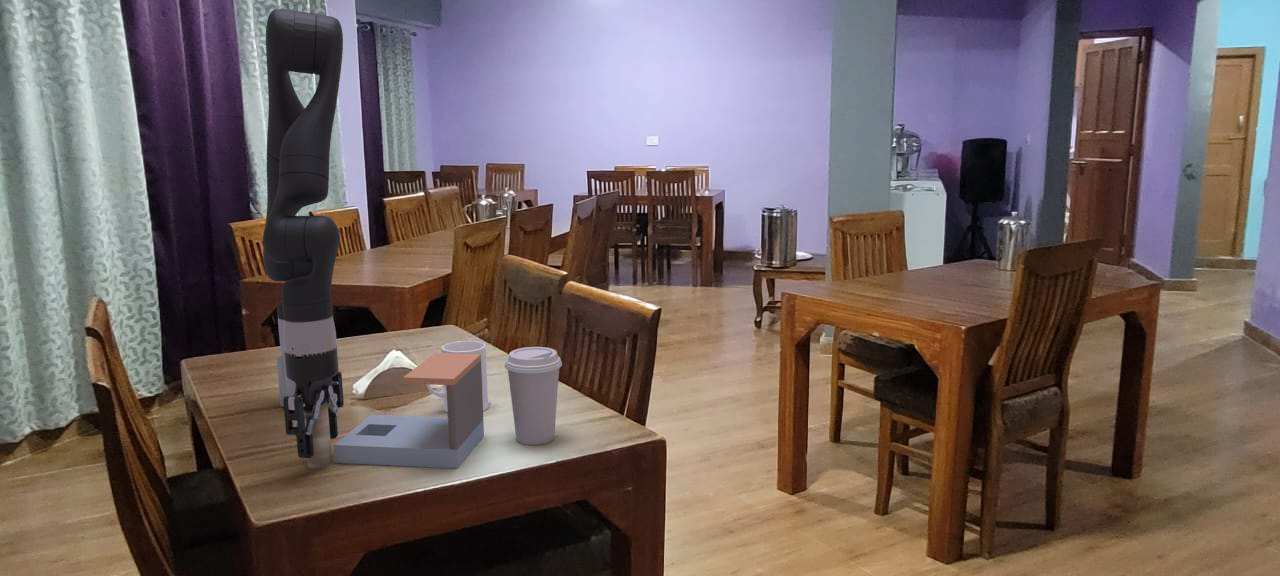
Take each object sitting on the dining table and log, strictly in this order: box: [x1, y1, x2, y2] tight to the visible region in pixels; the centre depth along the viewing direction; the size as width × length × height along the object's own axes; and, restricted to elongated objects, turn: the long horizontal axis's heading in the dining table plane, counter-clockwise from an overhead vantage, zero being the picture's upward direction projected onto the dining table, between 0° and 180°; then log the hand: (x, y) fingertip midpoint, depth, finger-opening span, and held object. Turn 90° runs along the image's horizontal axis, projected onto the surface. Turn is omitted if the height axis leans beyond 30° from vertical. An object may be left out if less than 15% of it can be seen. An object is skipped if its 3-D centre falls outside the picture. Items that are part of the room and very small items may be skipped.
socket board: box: [333, 352, 485, 469], centre depth 138 cm, size 20×14×14 cm
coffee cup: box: [504, 346, 563, 446], centre depth 142 cm, size 10×10×15 cm
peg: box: [304, 402, 333, 470], centre depth 132 cm, size 4×4×10 cm
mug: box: [425, 340, 490, 414], centre depth 157 cm, size 12×8×12 cm
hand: (318, 447), depth 132 cm, fingers open, 7 cm apart
